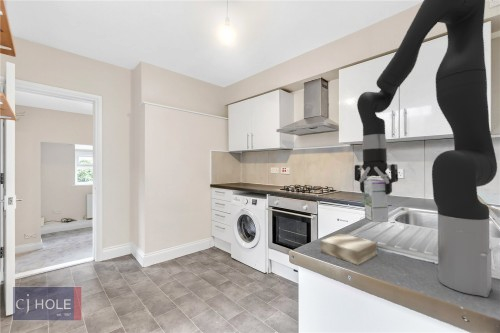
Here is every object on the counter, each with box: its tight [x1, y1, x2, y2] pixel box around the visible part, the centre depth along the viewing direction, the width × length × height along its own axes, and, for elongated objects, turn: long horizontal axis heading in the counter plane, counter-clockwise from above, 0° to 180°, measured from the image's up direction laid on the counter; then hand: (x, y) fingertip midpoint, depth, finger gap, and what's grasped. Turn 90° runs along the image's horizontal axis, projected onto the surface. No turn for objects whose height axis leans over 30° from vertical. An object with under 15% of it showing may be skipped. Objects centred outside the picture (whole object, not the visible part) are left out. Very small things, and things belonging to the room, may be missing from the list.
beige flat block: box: [320, 233, 378, 266], centre depth 76 cm, size 13×12×4 cm
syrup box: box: [363, 179, 389, 223], centre depth 81 cm, size 6×6×14 cm
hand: (375, 193), depth 81 cm, fingers closed on syrup box, 8 cm apart
